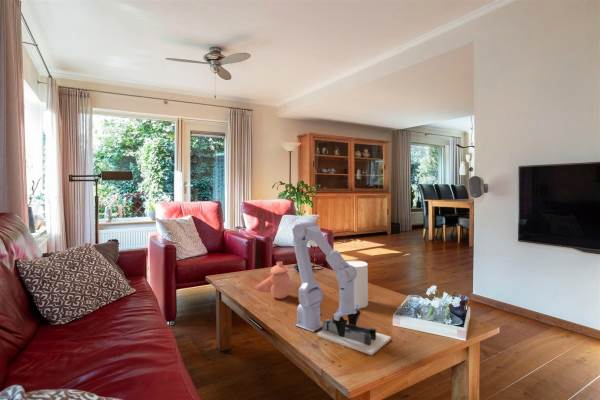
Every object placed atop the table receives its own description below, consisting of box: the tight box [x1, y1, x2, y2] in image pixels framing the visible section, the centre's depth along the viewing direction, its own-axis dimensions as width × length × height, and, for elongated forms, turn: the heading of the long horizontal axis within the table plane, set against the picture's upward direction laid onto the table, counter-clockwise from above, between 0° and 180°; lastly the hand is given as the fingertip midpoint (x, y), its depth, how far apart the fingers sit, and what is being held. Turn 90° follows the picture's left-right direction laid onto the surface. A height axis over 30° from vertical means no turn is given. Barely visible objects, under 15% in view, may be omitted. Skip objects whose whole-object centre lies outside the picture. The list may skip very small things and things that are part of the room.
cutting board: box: [316, 329, 392, 356], centre depth 128 cm, size 24×15×1 cm, turn 50°
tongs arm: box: [331, 319, 377, 340], centre depth 129 cm, size 18×1×4 cm, turn 59°
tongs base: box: [322, 318, 371, 346], centre depth 128 cm, size 21×3×4 cm, turn 50°
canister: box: [345, 259, 369, 309], centre depth 165 cm, size 14×14×20 cm
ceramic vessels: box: [254, 261, 291, 300], centre depth 188 cm, size 35×21×19 cm, turn 17°
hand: (347, 332), depth 128 cm, fingers open, 7 cm apart
